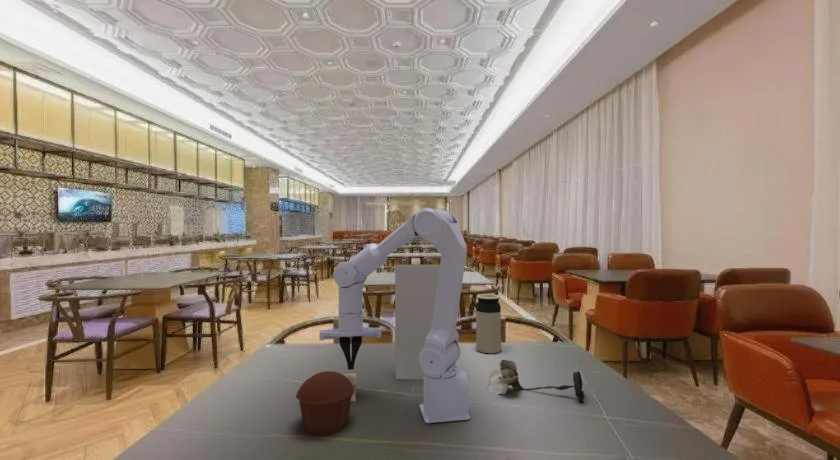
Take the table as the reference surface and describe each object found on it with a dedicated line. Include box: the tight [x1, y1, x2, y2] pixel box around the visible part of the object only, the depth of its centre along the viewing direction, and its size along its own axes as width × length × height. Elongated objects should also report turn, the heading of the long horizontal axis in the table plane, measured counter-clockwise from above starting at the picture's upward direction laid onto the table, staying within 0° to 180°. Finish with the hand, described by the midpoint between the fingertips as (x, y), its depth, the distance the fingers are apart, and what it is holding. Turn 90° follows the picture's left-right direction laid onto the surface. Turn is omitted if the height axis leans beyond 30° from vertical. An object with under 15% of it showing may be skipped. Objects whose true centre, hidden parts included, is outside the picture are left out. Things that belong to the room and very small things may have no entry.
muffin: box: [295, 370, 354, 435], centre depth 78 cm, size 12×11×10 cm
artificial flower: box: [486, 359, 585, 403], centre depth 92 cm, size 9×22×10 cm, turn 67°
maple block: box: [341, 372, 357, 402], centre depth 91 cm, size 4×7×10 cm
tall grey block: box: [394, 264, 440, 381], centre depth 104 cm, size 14×6×30 cm, turn 84°
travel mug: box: [475, 293, 502, 355], centre depth 126 cm, size 8×8×18 cm
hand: (350, 368), depth 92 cm, fingers closed
